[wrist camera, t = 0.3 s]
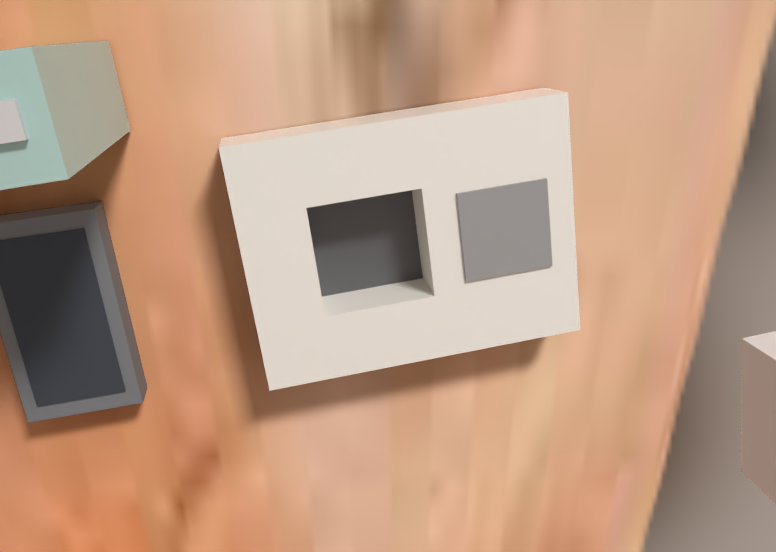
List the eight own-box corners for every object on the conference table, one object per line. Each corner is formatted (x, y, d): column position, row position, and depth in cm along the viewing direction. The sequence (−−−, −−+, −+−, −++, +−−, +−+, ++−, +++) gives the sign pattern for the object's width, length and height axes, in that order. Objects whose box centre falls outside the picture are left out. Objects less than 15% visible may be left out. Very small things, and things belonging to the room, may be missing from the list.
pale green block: (15, 53, 33) (-117, 66, 21) (108, 40, 33) (28, 46, 22) (42, 143, 34) (-70, 202, 22) (130, 130, 34) (66, 180, 23)
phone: (-18, 216, 35) (-34, 227, 33) (103, 199, 36) (94, 209, 34) (39, 403, 38) (27, 423, 36) (147, 384, 39) (142, 403, 37)
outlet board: (221, 138, 35) (218, 148, 32) (544, 87, 37) (569, 92, 34) (268, 364, 39) (269, 392, 36) (557, 309, 41) (581, 331, 38)
